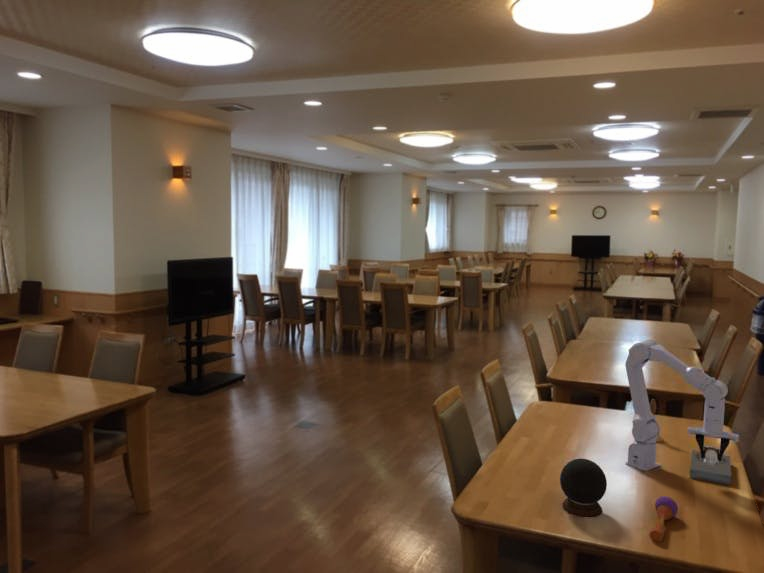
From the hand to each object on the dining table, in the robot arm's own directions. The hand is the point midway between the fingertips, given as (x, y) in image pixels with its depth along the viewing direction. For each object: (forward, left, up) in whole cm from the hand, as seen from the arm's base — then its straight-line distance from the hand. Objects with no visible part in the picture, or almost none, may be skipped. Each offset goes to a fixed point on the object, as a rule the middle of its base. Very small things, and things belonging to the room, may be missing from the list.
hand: (711, 458), depth 195 cm
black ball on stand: (-50, +12, -9) cm, 52 cm away
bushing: (0, 0, -1) cm, 1 cm away
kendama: (-40, -7, -9) cm, 42 cm away
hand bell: (+25, +35, -9) cm, 44 cm away
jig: (+11, +5, -8) cm, 15 cm away
